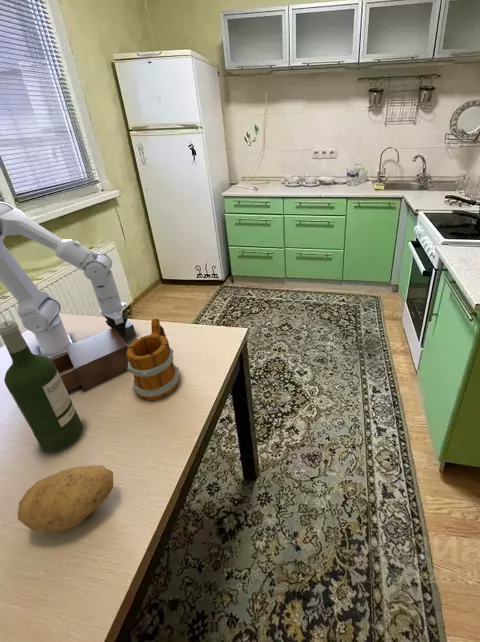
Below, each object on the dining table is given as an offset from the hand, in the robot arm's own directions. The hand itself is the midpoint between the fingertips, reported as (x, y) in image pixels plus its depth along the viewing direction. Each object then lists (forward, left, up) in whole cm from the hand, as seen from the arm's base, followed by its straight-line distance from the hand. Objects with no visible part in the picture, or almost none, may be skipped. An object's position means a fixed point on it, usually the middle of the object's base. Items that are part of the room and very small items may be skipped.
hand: (119, 332), depth 100 cm
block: (0, +1, -2) cm, 3 cm away
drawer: (+10, -18, -2) cm, 21 cm away
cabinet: (+10, -8, -2) cm, 13 cm away
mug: (+25, +2, -3) cm, 25 cm away
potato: (+46, -22, -3) cm, 51 cm away
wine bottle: (+27, -21, -3) cm, 34 cm away
